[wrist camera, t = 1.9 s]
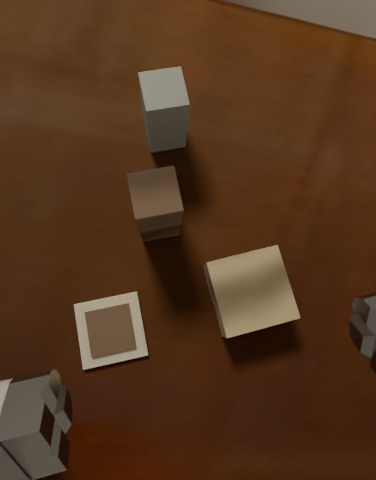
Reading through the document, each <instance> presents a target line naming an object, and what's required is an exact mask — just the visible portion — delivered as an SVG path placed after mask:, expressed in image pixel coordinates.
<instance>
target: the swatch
mask: <svg viewBox="0 0 376 480" xmlns="http://www.w3.org/2000/svg"><path fill="white" fill-rule="evenodd" d="M74 310H75V317H76V324H77V331H78V338H79V345H80V352H81V359H82V366H83V370H85V369H90V368H94V367H99V366H103V365H108V364H112V363H117V362H121V361H125V360H130V359H134V358H139V357H143V356H148V350H147V344H146V339H145V333H144V327H143V322H142V316H141V311H140V305H139V300H138V294H137V291H136V292H132V293H127V294H122V295H117V296H112V297H107V298H102V299H98V300H93V301H88V302H83V303H78V304H74Z"/></svg>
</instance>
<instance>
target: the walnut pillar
mask: <svg viewBox="0 0 376 480" xmlns="http://www.w3.org/2000/svg"><path fill="white" fill-rule="evenodd" d="M127 178H128V183H129V189H130V194H131V200H132V205H133V210H134V216H135V220H136V223H137V226H138V229H139V232H140V235H141V238H142V240H143V242H147V241H152V240H157V239H162V238H167V237H173V236H178V235H180V232H181V225H182V219H183V212H184V209H183V205H182V200H181V195H180V191H179V186H178V181H177V177H176V172H175V167H174V166H168V167H162V168H157V169H151V170H145V171H139V172H133V173H128V174H127Z"/></svg>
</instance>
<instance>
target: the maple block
mask: <svg viewBox="0 0 376 480" xmlns="http://www.w3.org/2000/svg"><path fill="white" fill-rule="evenodd" d="M203 269H204V273H205V276H206V280H207V284H208V288H209V291H210V295H211V299H212V302H213V306H214V310H215V314H216V317H217V321H218V325H219V329H220V332H221V336H222V337H225V338H231V337H234V336H238V335H241V334H245V333H249V332H252V331H256V330H260V329H263V328H267V327H270V326H274V325H278V324H281V323H285V322H289V321H292V320H296V319H299V318H300V315H299V312H298V308H297V305H296V302H295V299H294V296H293V292H292V289H291V286H290V283H289V280H288V276H287V273H286V270H285V267H284V264H283V260H282V257H281V254H280V251H279V248H278V245H275V246H271V247H267V248H263V249H259V250H255V251H251V252H247V253H243V254H239V255H235V256H231V257H227V258H223V259H219V260H215V261H211V262H207V263H206V264H205V265H204V266H203Z"/></svg>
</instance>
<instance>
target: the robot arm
mask: <svg viewBox="0 0 376 480" xmlns="http://www.w3.org/2000/svg"><path fill="white" fill-rule="evenodd" d="M352 308H353V310H354V311H355V312H356V313H355V314H354V315H353V316H352V317H351V319H350V322H349V331H350V335H351V338H352V340H353V342H354V344H355V346H356V347H357V349H358V350H359V351H360V352H361V353H362V354H364V355H366V356H368V357H370V366H371V368H372V369H373V370H374V372H375V373H376V293H372V294H368V295H364V296H360V297H356V299H355V300H354V301H353V305H352ZM60 378H61V377H60V375H59V374H58V372H57V371H56V370H50V371H45V372H40V373H35V374H31V375H26V376H21V377H16V378H12V379H8V380H3V381H0V480H35V479H39V478H42V477H46V476H49V475H52V474H56V473H59V472H63V471H66V470H67V465H68V456H69V446H70V441H69V440H68V438H67V437H66V435H65V433H66V432H67V431H68V429H69V428H70V426H71V425H72V415H73V411H72V401H71V397H70V394H69V392H68V390H67V388H66V387H64V386H61V385H60Z"/></svg>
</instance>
